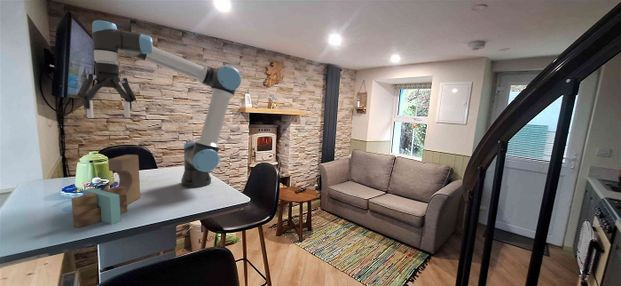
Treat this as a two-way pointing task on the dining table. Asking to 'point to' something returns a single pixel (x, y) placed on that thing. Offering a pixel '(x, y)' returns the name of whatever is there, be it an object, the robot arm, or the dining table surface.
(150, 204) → the dining table surface
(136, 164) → the decorative block
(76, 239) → the dining table surface
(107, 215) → the teal board
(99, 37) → the robot arm
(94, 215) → the walnut board
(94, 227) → the dining table surface
